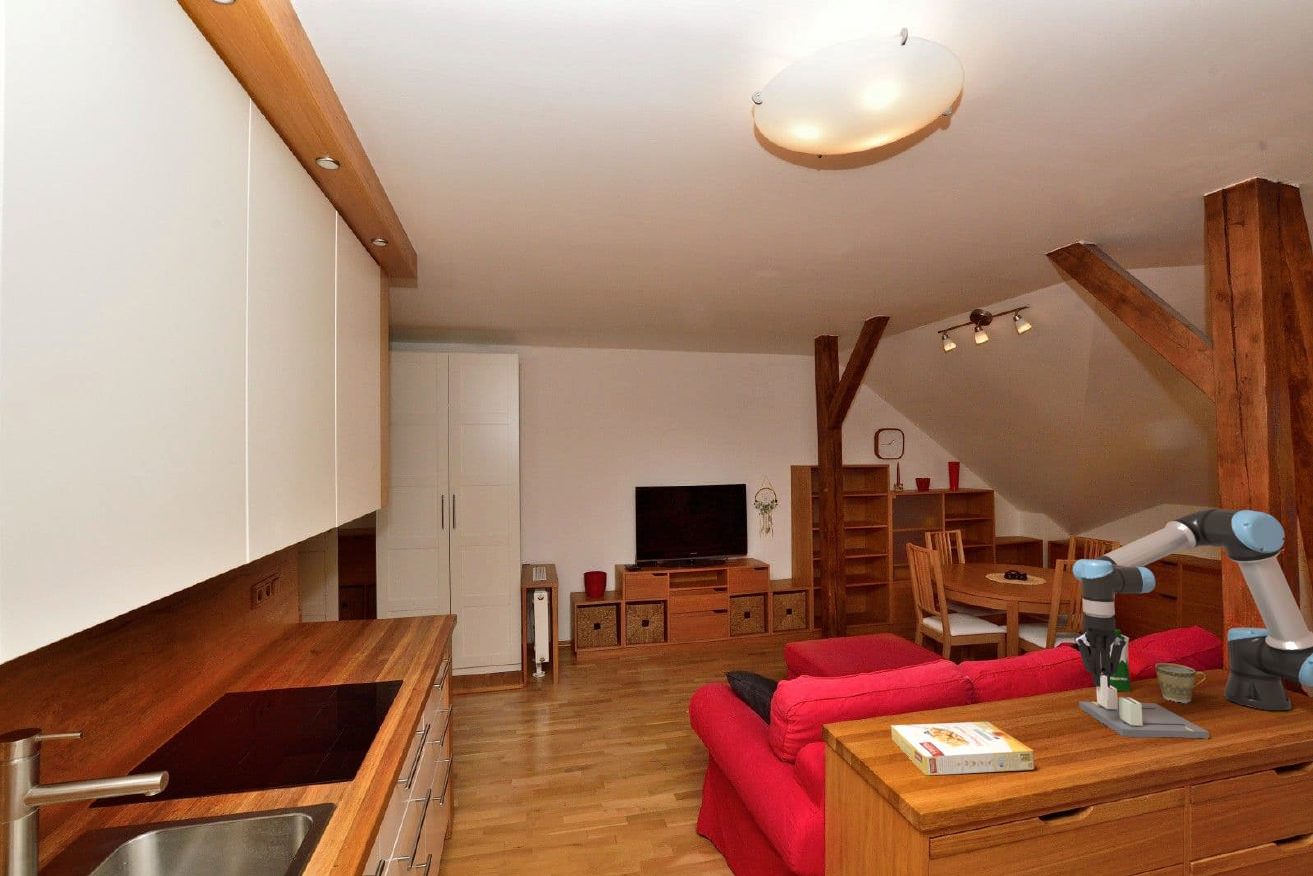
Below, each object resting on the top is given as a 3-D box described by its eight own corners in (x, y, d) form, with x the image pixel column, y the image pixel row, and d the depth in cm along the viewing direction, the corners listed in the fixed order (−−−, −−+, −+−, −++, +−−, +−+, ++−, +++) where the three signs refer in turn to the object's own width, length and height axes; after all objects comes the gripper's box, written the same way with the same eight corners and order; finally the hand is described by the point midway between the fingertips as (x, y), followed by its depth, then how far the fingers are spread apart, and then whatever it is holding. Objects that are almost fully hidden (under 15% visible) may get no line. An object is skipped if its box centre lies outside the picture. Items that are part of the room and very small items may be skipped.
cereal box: (1035, 749, 153) (925, 754, 151) (1036, 772, 152) (926, 778, 150) (986, 718, 173) (888, 722, 171) (987, 739, 172) (889, 743, 170)
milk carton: (1107, 692, 205) (1103, 631, 206) (1090, 683, 214) (1087, 625, 215) (1135, 693, 204) (1131, 631, 205) (1117, 683, 213) (1114, 625, 214)
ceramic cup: (1166, 703, 194) (1164, 671, 195) (1150, 692, 204) (1149, 662, 205) (1216, 707, 191) (1213, 674, 191) (1198, 696, 200) (1196, 665, 201)
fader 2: (1130, 718, 177) (1129, 696, 178) (1142, 725, 172) (1141, 703, 173) (1119, 718, 178) (1118, 696, 178) (1131, 725, 173) (1129, 703, 173)
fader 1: (1107, 703, 189) (1106, 682, 190) (1118, 709, 184) (1116, 688, 185) (1097, 703, 190) (1096, 682, 190) (1107, 709, 185) (1106, 688, 185)
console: (1155, 710, 189) (1155, 703, 190) (1209, 739, 169) (1208, 731, 169) (1079, 708, 192) (1079, 701, 192) (1122, 736, 171) (1122, 729, 171)
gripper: (1114, 612, 181) (1118, 694, 179) (1067, 611, 182) (1070, 692, 181) (1131, 618, 173) (1135, 703, 172) (1082, 617, 175) (1085, 702, 173)
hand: (1102, 698), depth 176 cm, fingers closed
